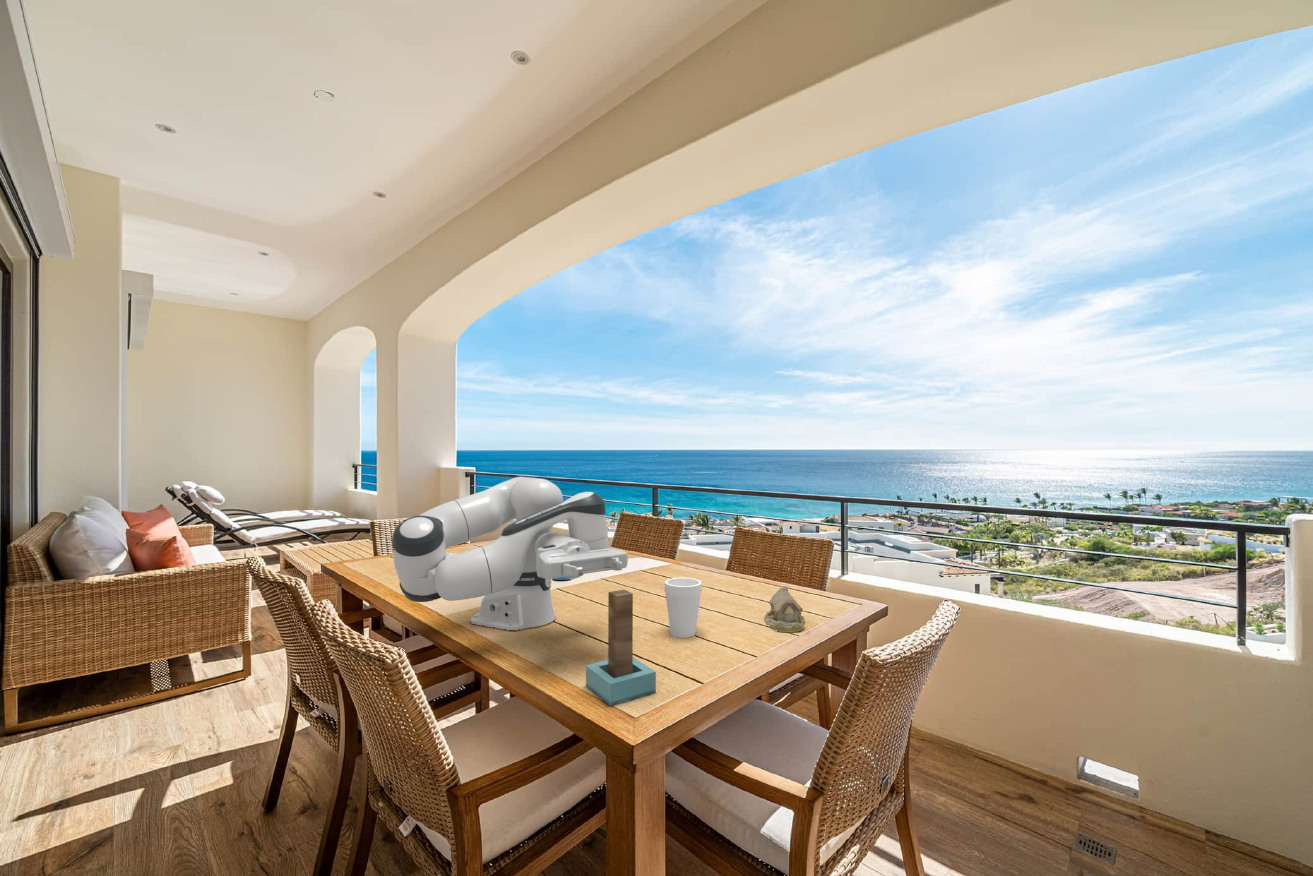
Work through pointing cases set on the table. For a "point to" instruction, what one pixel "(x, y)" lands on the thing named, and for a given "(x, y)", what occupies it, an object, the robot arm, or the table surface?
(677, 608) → the foam cup
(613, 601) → the wooden block
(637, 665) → the light blue square container
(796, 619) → the ceramic model
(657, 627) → the table surface
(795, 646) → the table surface
